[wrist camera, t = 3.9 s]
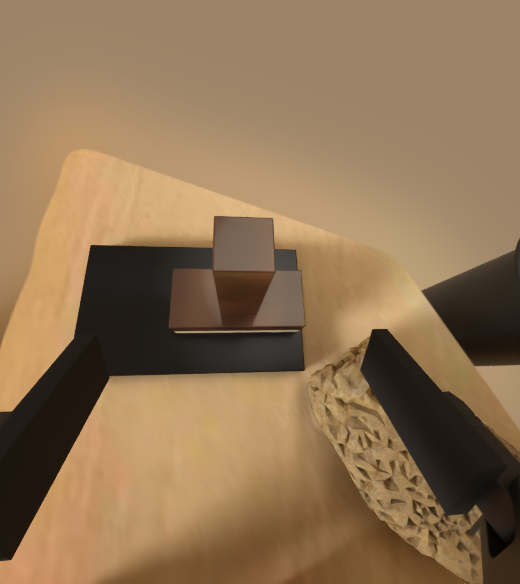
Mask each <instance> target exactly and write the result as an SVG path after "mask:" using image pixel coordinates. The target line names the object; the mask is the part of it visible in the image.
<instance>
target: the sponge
mask: <svg viewBox="0 0 520 584" xmlns="http://www.w3.org/2000/svg"><path fill="white" fill-rule="evenodd" d="M369 339H370V337H368V338H367V339H365V340H364V341H363V342H361V343H360V345H359V347H354V348H351V349H350V352H348V353H346V354H344V355H343V360H342V361H341V362H340V363H339V364H338V365H337V366H336V367H334V366H333V364H328V365H326V366H325V367H324V368H323V369H322V370H320V371H319V370H318V371H316V372H315V373H314V374H312V375H311V378H310V380H309V383H308V391H309V398H310V402H311V406H312V409H313V412H314V414H315V416H316V419H317V421H318V422H319V424H320V427H321V428H322V430H323V432H324V433H325V434H326V436H327V437H328V438H329V439H330V441H331V442H332V444H333V446H334V448H335V450H336V451H337V453H338V455H339V456H340V457H341V459H342V460H343V462H344V464H345V466H346V468H347V469H348V472H349V474H350V476H351V478H352V480H353V481H354V483H355V485H356V487H357V489H358V490H359V492H360V494H361V496H362V497H363V499H364V500H365V502H366V503H367V505H368V506H369V508H370V509H371V510H373V511H374V512H375V513H376V515H377V516H378V518H379V519H380V520H384V521H385V522H386V523H387V524H388V526H389V527H390V528H391V529H392V530H393V531H395V532H397V533H398V534H399V535H400V537H401V538H403V539H404V540H405V541H406V542H407V543H408V544H410V545H412V546H414V547H415V548H416V549H417V550H418V551H419V552H420V553H422V554H423V555H427V556H430V557H432V558H433V559H435V560H436V561H437V562H438V563H439V564H440V565H441V566H443V567H445V568H447V569H448V570H450V571H451V572H452V573H454V574H455V575H456V576H458V577H460V578H461V579H463V580H464V581H466V582H467V583H469V584H483V574H482V556H481V540H480V529H479V530H478V531H477V533H476V534H475V535H472V534H470V529H471V526H472V525H473V524H474V523H475V522H476V521H477V520H478V519H479V518H480V517H481V515H482V512H481V511H480V510H479V508H478V507H477V505H475V506H474V507H473V508H472V509H471V510H470V512H469V513H468V514H461V515H451V516H446V514H445V512H444V511H443V509H442V507H441V506H440V504H439V502H438V501H437V499H436V497H435V495H434V494H433V492H432V490H431V489H430V487H429V485H428V484H427V482H426V480H425V479H424V477H423V475H422V474H421V472H420V470H419V469H418V467H417V465H416V464H415V462H414V460H413V458H412V457H411V455H410V453H409V452H408V450H407V448H406V447H405V445H404V443H403V442H402V440H401V438H400V437H399V435H398V433H397V432H396V430H395V428H394V426H393V425H392V423H391V421H390V420H389V418H388V416H387V415H386V413H385V411H384V410H383V408H382V406H381V405H380V403H379V401H378V400H377V398H376V396H375V394H374V393H373V391H372V389H371V388H370V386H369V384H368V383H367V381H366V379H365V378H364V376H363V374H362V373H361V371H360V368H361V365H362V362H363V359H364V355H365V352H366V349H367V346H368V342H369ZM484 426H485V427H487V428H488V429H489V430H490V431H491V432H492V433H493V434H494V435H495V436H496V437H497V438H498V439H499V440H500V442H501V443H502V444H503V445H504V446H505V447H506V448H507V449H508V450H509V451H510V452H511V453H512V454H513V455H514V457H515V458H516V459H517V460H518V461H519V462H520V452H519V451H518V450H517V449H516V448H514V447H513V446H512V445H510V444H509V443H508V442H506V441H505V440H504V439H502V438H501V437H500V436H498V435H497V434H496V433H495V432H494V431H493V429H491V428H490V427H488V426H487V425H485V424H484Z"/></svg>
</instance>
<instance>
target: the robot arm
mask: <svg viewBox="0 0 520 584" xmlns="http://www.w3.org/2000/svg"><path fill="white" fill-rule="evenodd" d="M360 371H361V373H362V374H363V376H364V378H365V379H366V381H367V383H368V384H369V386H370V388H371V389H372V391H373V393H374V394H375V396H376V398H377V400H378V401H379V403H380V405H381V406H382V408H383V410H384V411H385V413H386V415H387V416H388V418H389V420H390V421H391V423H392V425H393V426H394V428H395V430H396V432H397V433H398V435H399V437H400V438H401V440H402V442H403V443H404V445H405V447H406V448H407V450H408V452H409V453H410V455H411V457H412V458H413V460H414V462H415V464H416V465H417V467H418V469H419V470H420V472H421V474H422V475H423V477H424V479H425V480H426V482H427V484H428V485H429V487H430V489H431V490H432V492H433V494H434V495H435V497H436V499H437V501H438V502H439V504H440V506H441V507H442V509H443V511H444V512H445V514H446V516H451V515H461V514H468V513H469V512H470V510H471V509H472V508H473V507H474V506H475V505H477V507H478V508H479V510H480V511H481V512H482V515H481V517H480V518H479V519H478V520H477V521H476V522H475V523H474V524H473V525H472V526H471V529H470V534H472V535H475V534H476V533H477V531H478V530H479V529H480V540H481V556H482V574H483V584H520V462H519V461H518V460H517V459H516V458H515V457H514V455H513V454H512V453H511V452H510V451H509V450H508V449H507V448H506V447H505V446H504V445H503V444H502V443H501V442H500V440H499V439H498V438H497V437H496V436H495V435H494V434H493V433H492V432H491V431H490V430H489V429H488V428H487V427H485V426H484V423H483V422H482V421H481V420H480V419H479V418H478V417H477V416H475V415H474V413H473V412H472V410H471V409H470V408H469V407H468V406H467V405H466V404H465V403H464V402H463V401H462V400H460V399H459V398H457V397H456V396H455V395H453V394H452V393H450V392H449V391H448V392H442V391H441V390H440V389H439V388H438V386H437V385H436V384H435V383H434V382H433V381H432V380H431V378H430V377H429V376H428V375H427V374H426V373H425V372H424V371H423V369H422V368H421V367H420V366H419V365H418V364H417V363H416V362H415V360H414V359H413V358H412V357H411V356H410V355H409V354H408V352H407V351H406V350H405V349H404V348H403V347H402V346H401V345H400V343H399V342H398V341H397V340H396V339H395V338H394V337H393V336H392V334H391V333H390V332H389V331H388V330H387V329H372V333H371V336H370V339H369V342H368V346H367V349H366V352H365V355H364V359H363V362H362V365H361V368H360ZM108 380H109V375H108V371H107V368H106V364H105V361H104V358H103V354H102V351H101V347H100V344H99V340H98V337H97V334H96V333H84V334H77V336H76V337H75V338H74V339H73V340H72V341H71V343H70V344H69V345H68V346H67V347H66V349H65V350H64V351H63V352H62V353H61V354H60V356H59V357H58V358H57V359H56V360H55V362H54V363H53V364H52V365H51V366H50V367H49V369H48V370H47V371H46V372H45V373H44V375H43V376H42V377H41V378H40V379H39V380H38V382H37V383H36V384H35V385H34V386H33V388H32V389H31V390H30V391H29V392H28V393H27V395H26V396H25V397H24V398H23V399H22V400H21V402H20V403H19V404H18V405H17V406H16V408H15V409H14V410H13V411H11V412H0V561H6V560H11V559H12V558H13V556H14V554H15V552H16V550H17V548H18V547H19V545H20V543H21V541H22V539H23V537H24V535H25V534H26V532H27V530H28V528H29V526H30V524H31V522H32V521H33V519H34V517H35V515H36V513H37V511H38V510H39V508H40V506H41V504H42V502H43V500H44V498H45V497H46V495H47V493H48V491H49V489H50V487H51V485H52V484H53V482H54V480H55V478H56V476H57V474H58V473H59V471H60V469H61V467H62V465H63V463H64V461H65V460H66V458H67V456H68V454H69V452H70V450H71V448H72V447H73V445H74V443H75V441H76V439H77V437H78V436H79V434H80V432H81V430H82V428H83V426H84V424H85V423H86V421H87V419H88V417H89V415H90V413H91V411H92V410H93V408H94V406H95V404H96V402H97V400H98V399H99V397H100V395H101V393H102V391H103V389H104V387H105V386H106V384H107V382H108Z"/></svg>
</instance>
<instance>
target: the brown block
mask: <svg viewBox="0 0 520 584" xmlns="http://www.w3.org/2000/svg"><path fill="white" fill-rule="evenodd" d="M303 327H305V315H304V302H303V289H302V276H301V270H276V268H275V247H274V226H273V218H253V217H225V216H214V233H213V267H212V269H173V277H172V290H171V304H170V317H169V328H170V329H172V330H173V331H174V332H176V333H234V332H297V331H299V330H300V329H302V328H303Z"/></svg>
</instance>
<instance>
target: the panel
mask: <svg viewBox="0 0 520 584" xmlns="http://www.w3.org/2000/svg"><path fill="white" fill-rule="evenodd" d="M212 267H213V248H192V247H149V246H106V245H91V246H90V252H89V257H88V263H87V268H86V274H85V279H84V285H83V290H82V296H81V301H80V307H79V312H78V318H77V323H76V329H75V335H74V338H75V337H76V336H77V334H84V333H96V334H97V337H98V340H99V344H100V347H101V351H102V354H103V358H104V361H105V364H106V368H107V371H108V375H109V376H134V375H170V374H207V373H244V372H280V371H304V370H305V366H304V353H303V339H302V329H300V330H299V331H297V332H234V333H176V332H174V331H173V330H172V329H170V328H169V317H170V304H171V290H172V277H173V269H212ZM275 268H276V270H297V257H296V250H277V249H275Z"/></svg>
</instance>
